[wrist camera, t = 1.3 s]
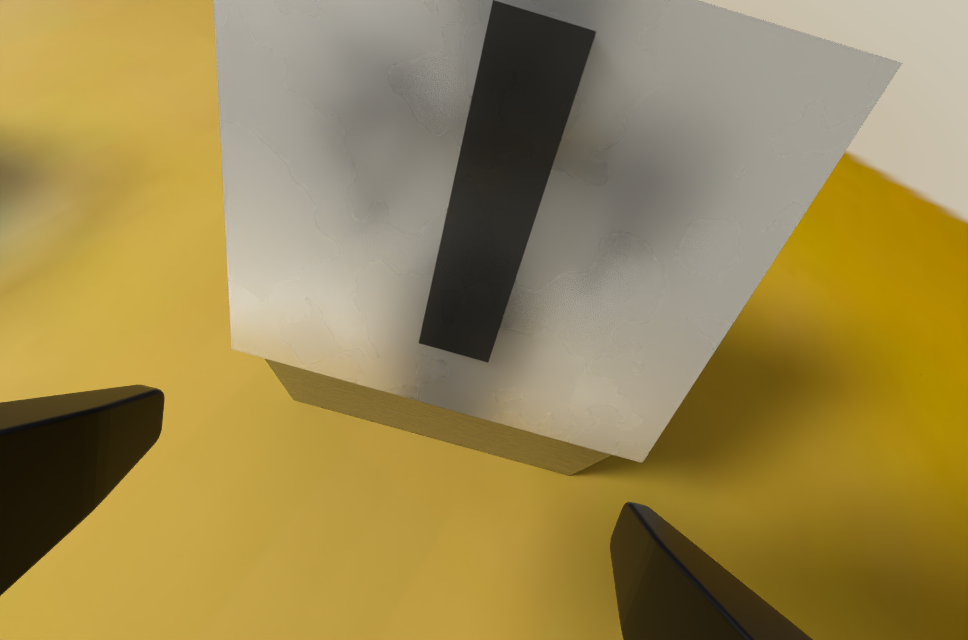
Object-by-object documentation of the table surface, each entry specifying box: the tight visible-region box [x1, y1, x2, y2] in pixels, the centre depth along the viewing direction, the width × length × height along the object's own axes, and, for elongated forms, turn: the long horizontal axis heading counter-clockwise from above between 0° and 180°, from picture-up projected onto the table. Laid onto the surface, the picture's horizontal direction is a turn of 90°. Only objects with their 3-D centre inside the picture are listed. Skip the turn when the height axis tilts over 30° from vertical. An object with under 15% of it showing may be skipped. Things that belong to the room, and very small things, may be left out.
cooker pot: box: [265, 359, 611, 476], centre depth 22 cm, size 12×17×7 cm
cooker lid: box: [214, 0, 902, 463], centre depth 12 cm, size 12×14×2 cm
